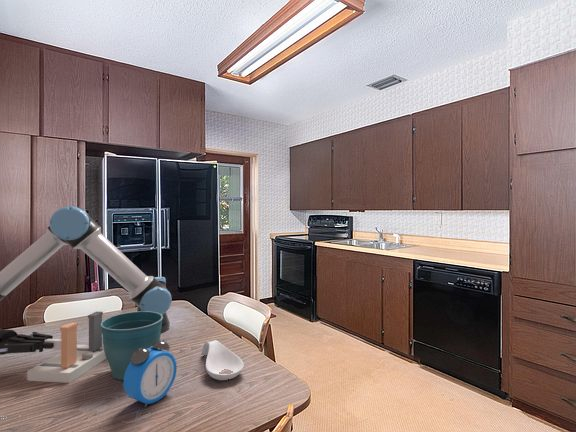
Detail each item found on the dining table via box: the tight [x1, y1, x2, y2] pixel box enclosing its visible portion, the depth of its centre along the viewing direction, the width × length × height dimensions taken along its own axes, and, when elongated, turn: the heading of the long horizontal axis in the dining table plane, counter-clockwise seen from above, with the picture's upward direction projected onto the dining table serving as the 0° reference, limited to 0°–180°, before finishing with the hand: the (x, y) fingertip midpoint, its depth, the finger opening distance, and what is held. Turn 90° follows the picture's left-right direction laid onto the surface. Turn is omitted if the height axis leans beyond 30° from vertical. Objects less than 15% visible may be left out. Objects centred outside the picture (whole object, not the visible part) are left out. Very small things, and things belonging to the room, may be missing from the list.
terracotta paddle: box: [59, 322, 79, 368], centre depth 101 cm, size 2×4×12 cm, turn 175°
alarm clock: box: [122, 339, 177, 408], centre depth 89 cm, size 13×6×15 cm, turn 152°
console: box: [26, 344, 107, 384], centre depth 108 cm, size 14×20×4 cm
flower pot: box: [101, 311, 163, 381], centre depth 104 cm, size 18×18×17 cm
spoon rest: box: [200, 339, 245, 381], centre depth 107 cm, size 24×12×7 cm, turn 32°
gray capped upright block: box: [87, 311, 104, 351], centre depth 113 cm, size 2×4×12 cm, turn 175°
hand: (65, 344), depth 102 cm, fingers closed
